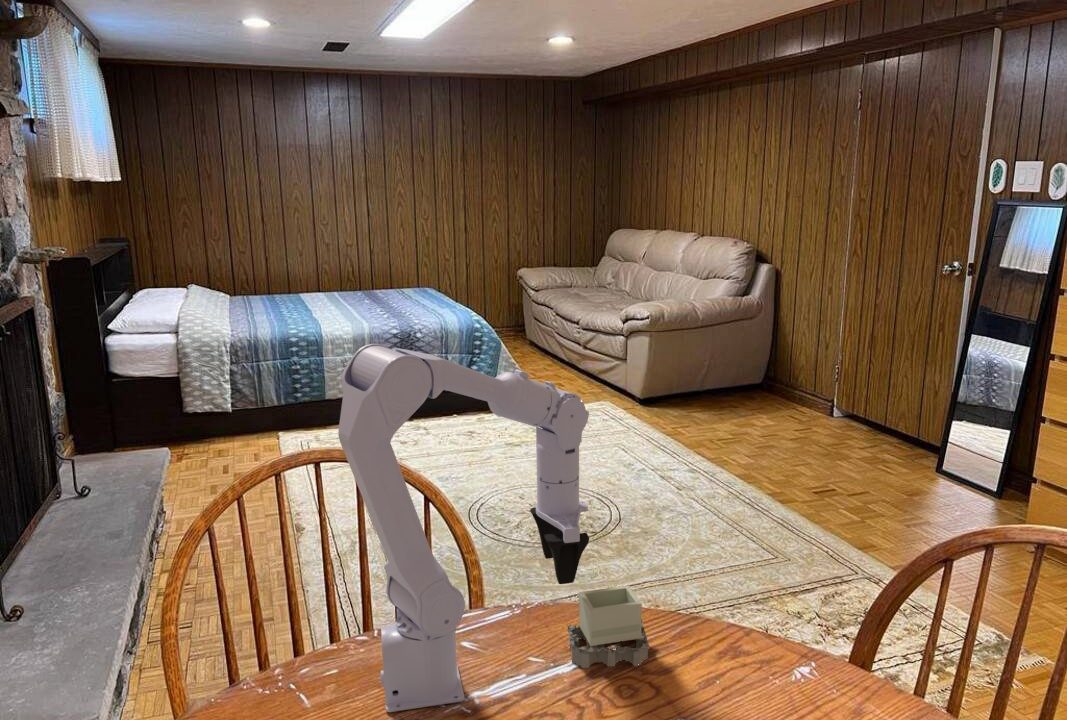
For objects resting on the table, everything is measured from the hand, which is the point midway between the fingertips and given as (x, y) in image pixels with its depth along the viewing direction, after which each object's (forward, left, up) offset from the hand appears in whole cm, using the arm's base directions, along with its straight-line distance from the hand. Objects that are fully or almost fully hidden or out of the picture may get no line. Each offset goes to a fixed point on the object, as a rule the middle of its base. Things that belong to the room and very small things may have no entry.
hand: (558, 569), depth 109 cm
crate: (+5, -6, -7) cm, 11 cm away
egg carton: (+5, -6, -10) cm, 13 cm away
